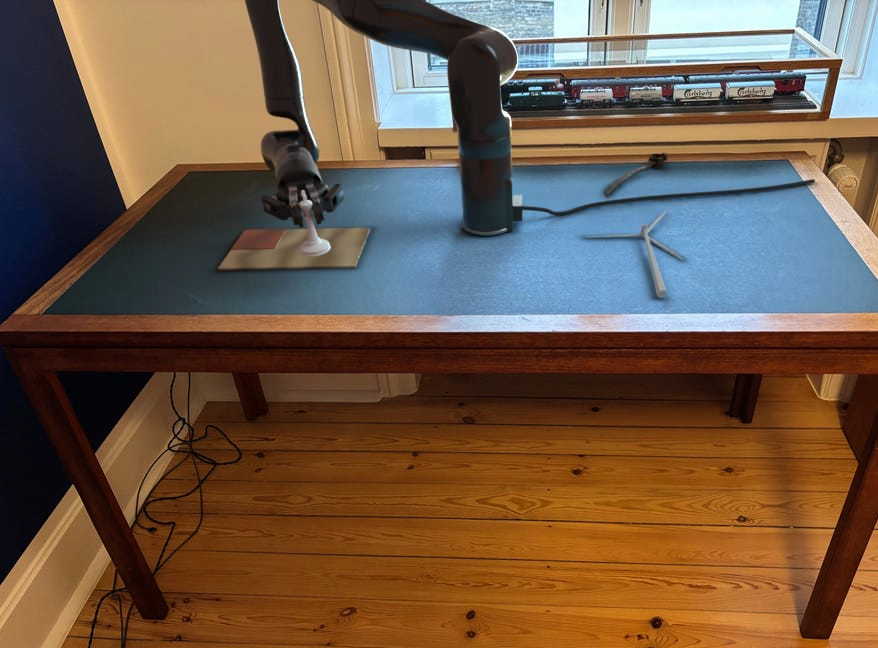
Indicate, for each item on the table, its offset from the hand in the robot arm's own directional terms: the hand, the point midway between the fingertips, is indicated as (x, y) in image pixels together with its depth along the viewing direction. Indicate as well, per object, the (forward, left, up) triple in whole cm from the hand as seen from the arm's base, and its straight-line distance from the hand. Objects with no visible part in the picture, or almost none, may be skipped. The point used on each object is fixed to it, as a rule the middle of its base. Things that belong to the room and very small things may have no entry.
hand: (309, 220), depth 110 cm
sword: (-56, -45, -12) cm, 73 cm away
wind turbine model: (-51, -11, -12) cm, 53 cm away
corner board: (+8, -15, -12) cm, 21 cm away
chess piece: (+1, -3, -7) cm, 7 cm away
